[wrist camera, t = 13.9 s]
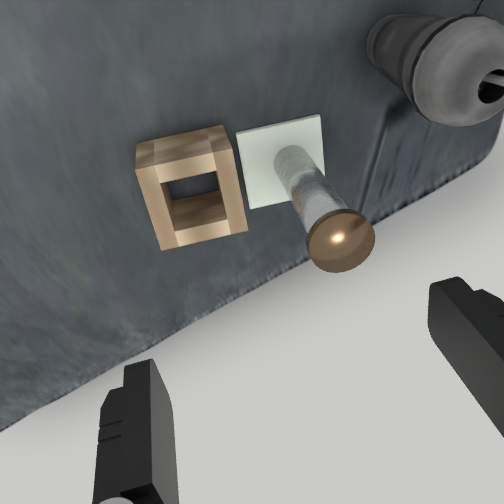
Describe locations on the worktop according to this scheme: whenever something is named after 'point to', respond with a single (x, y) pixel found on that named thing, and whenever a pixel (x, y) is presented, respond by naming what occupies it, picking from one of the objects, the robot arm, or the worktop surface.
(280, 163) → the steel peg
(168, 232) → the oak eye block
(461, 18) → the beverage cup
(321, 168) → the sage mat
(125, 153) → the worktop surface
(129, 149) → the worktop surface
